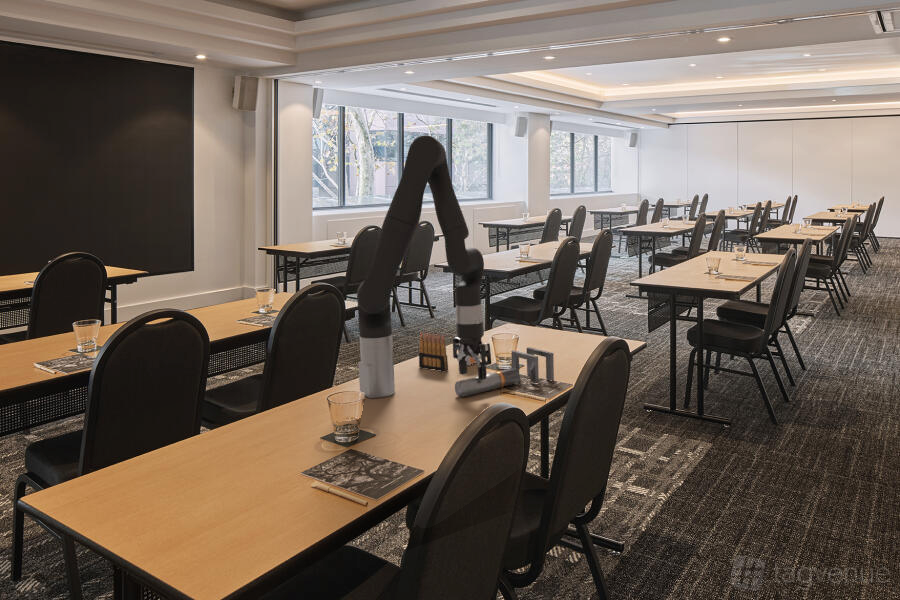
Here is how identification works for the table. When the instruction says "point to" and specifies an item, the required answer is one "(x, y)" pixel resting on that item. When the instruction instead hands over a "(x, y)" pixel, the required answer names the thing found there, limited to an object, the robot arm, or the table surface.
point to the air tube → (486, 383)
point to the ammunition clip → (433, 352)
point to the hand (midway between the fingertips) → (472, 376)
